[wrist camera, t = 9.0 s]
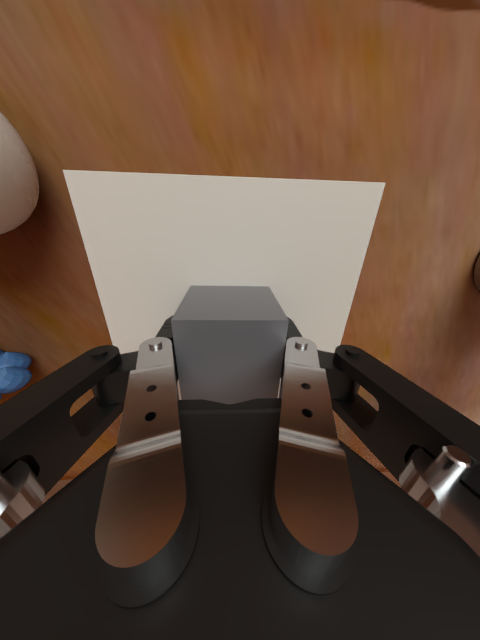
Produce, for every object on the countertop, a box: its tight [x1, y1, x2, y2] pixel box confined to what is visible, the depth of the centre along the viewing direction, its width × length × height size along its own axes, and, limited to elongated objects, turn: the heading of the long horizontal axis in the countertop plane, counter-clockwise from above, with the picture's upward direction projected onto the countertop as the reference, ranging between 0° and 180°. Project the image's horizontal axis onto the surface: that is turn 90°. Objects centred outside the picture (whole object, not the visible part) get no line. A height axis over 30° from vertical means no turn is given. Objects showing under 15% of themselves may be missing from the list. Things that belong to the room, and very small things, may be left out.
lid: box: [63, 170, 385, 404], centre depth 11 cm, size 15×15×6 cm
